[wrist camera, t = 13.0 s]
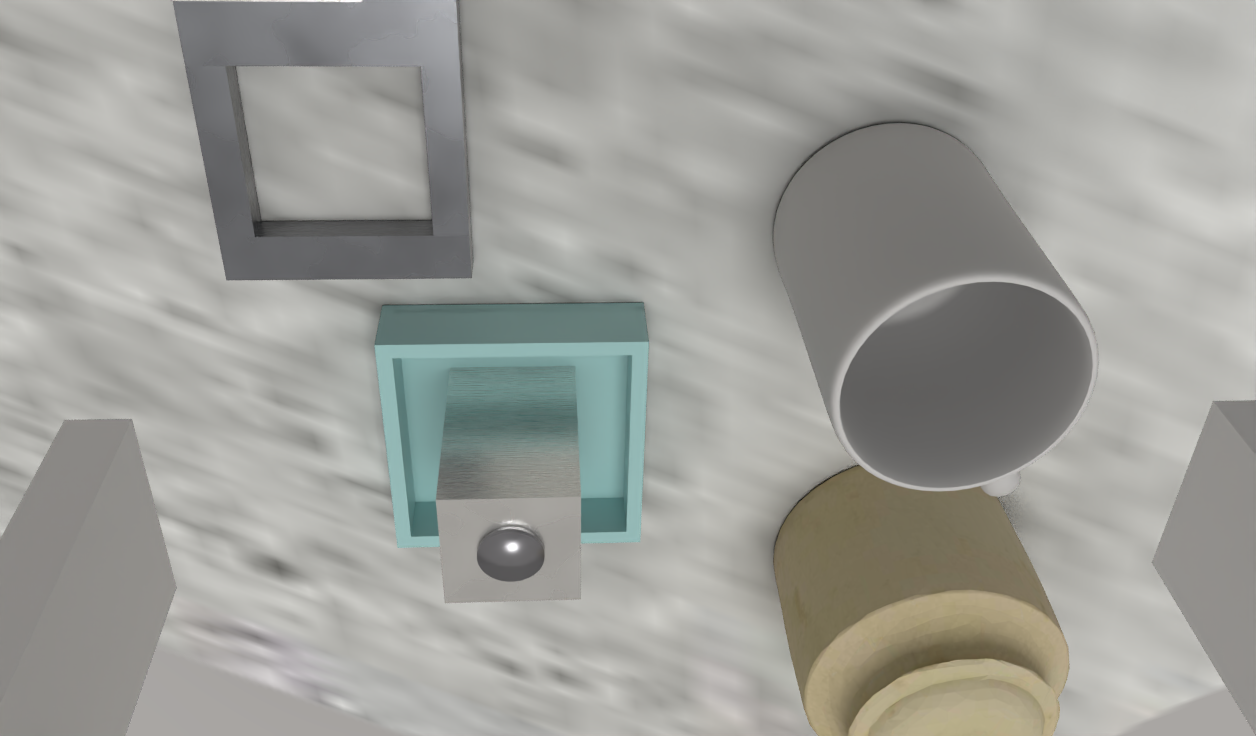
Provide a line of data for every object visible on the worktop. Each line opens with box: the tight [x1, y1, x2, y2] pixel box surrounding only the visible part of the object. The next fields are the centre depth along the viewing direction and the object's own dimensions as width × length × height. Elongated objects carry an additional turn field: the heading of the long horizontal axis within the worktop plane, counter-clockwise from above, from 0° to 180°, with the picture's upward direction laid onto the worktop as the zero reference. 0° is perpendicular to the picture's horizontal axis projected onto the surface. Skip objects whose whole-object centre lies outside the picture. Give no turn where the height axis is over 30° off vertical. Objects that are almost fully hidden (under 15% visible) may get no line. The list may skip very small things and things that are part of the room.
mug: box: [773, 123, 1099, 497], centre depth 42 cm, size 12×8×11 cm
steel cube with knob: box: [436, 366, 581, 603], centre depth 46 cm, size 5×5×8 cm
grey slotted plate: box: [173, 0, 473, 280], centre depth 39 cm, size 20×9×1 cm, turn 179°
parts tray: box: [374, 303, 649, 548], centre depth 48 cm, size 10×10×3 cm
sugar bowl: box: [773, 465, 1069, 736], centre depth 50 cm, size 15×11×15 cm
